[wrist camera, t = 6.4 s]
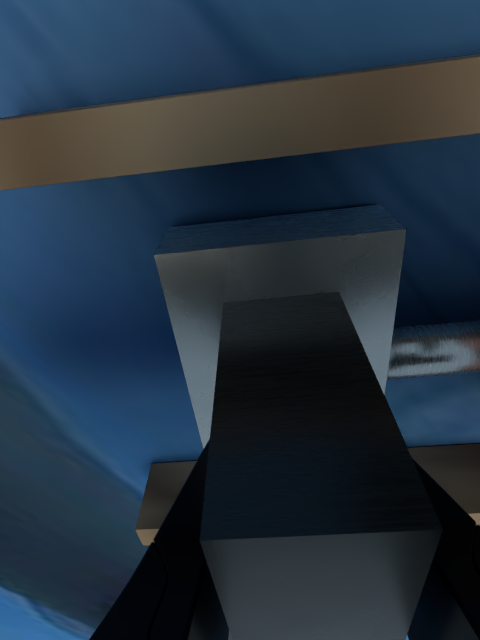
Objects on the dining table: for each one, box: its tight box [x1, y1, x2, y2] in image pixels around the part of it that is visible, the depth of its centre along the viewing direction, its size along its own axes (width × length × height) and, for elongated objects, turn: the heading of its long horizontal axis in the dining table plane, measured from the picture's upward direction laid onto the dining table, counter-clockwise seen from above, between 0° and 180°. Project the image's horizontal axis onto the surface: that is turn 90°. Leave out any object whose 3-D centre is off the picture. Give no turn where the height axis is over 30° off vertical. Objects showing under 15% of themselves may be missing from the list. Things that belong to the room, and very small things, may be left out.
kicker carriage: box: [154, 205, 480, 640], centre depth 9 cm, size 13×9×8 cm
